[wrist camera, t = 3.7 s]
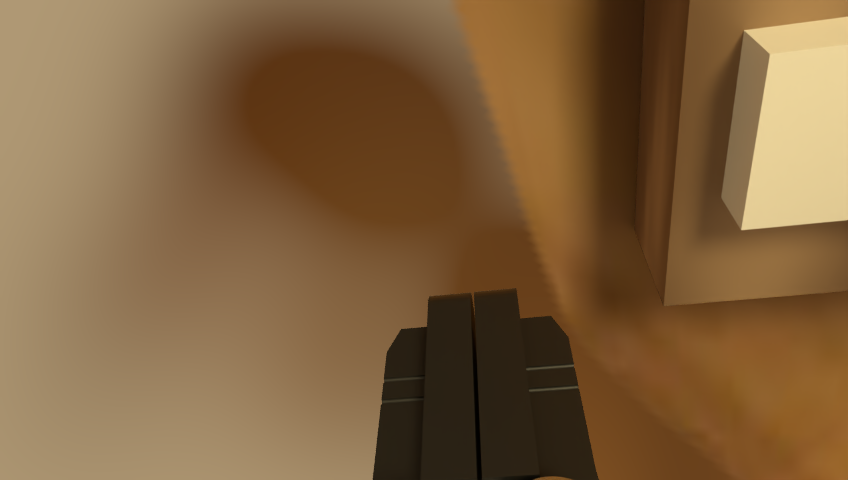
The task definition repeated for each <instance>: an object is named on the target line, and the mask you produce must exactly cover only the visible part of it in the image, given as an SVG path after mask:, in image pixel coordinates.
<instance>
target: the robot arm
mask: <svg viewBox="0 0 848 480" xmlns="http://www.w3.org/2000/svg"><path fill="white" fill-rule="evenodd" d="M474 303H475V315H474V307H473V301H472V295H471V293H463V294H451V295H440V296H430V297H429V300H428V319H427V327H421V328H409V329H401V330H400V332H399V334H398V335H397V337H396V339H395V340H394V342H393V343H392V345H391V347H390V348H389V350H388V351H387V356H386V366H385V374H384V384H383V392H382V405H381V410H380V419H379V428H378V437H377V446H376V456H375V464H374V473H373V480H599V479H598V476H597V472H596V469H595V464H594V459H593V455H592V449H591V444H590V440H589V435H588V430H587V425H586V420H585V416H584V411H583V406H582V401H581V396H580V392H579V389H578V382H577V377H576V372H575V368H574V363H573V358H572V353H571V348H570V344H569V338H568V336H567V335H566V334H565V333H564V331H563V330H562V329H561V328H560V326H559V325H558V324H557V323H556V322H555V320H554V319H553V318H552V317H551V316H545V317H534V318H522V319H520V314H519V306H518V298H517V291H516V288H513V289H503V290H492V291H481V292H474Z"/></svg>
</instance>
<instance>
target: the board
mask: <svg viewBox="0 0 848 480" xmlns="http://www.w3.org/2000/svg"><path fill="white" fill-rule="evenodd" d="M841 17H848V0H645V7H644V29H643V51H642V73H641V95H640V117H639V139H638V161H637V183H636V205H635V227H634V230H635V233H636V235H637V238H638V241H639V243H640V246H641V248H642V251H643V254H644V256H645V259H646V261H647V264H648V267H649V269H650V272H651V274H652V277H653V280H654V282H655V285H656V287H657V290H658V293H659V295H660V298H661V301H662V303H663V306H673V305H685V304H697V303H709V302H721V301H733V300H745V299H757V298H769V297H781V296H793V295H805V294H817V293H829V292H841V291H848V220H843V221H833V222H823V223H812V224H802V225H791V226H781V227H770V228H760V229H749V230H741V229H740V228H739V226H738V224H737V223H736V221H735V219H734V218H733V216H732V215H731V213H730V211H729V210H728V208H727V206H726V205H725V203H724V202H723V200H722V198H721V195H722V188H723V181H724V173H725V166H726V159H727V151H728V144H729V137H730V129H731V122H732V115H733V108H734V100H735V93H736V86H737V78H738V71H739V64H740V56H741V49H742V42H743V34H744V30H750V29H758V28H765V27H773V26H781V25H788V24H796V23H803V22H811V21H818V20H826V19H833V18H841Z"/></svg>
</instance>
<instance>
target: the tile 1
mask: <svg viewBox="0 0 848 480" xmlns="http://www.w3.org/2000/svg"><path fill="white" fill-rule="evenodd" d="M721 198H722V200H723V202H724V203H725V205H726V206H727V208H728V210H729V211H730V213H731V215H732V216H733V218H734V219H735V221H736V223H737V224H738V226H739V228H740V229H741V230H749V229H760V228H770V227H781V226H791V225H802V224H812V223H823V222H833V221H843V220H848V17H841V18H833V19H826V20H818V21H811V22H803V23H796V24H788V25H781V26H773V27H765V28H758V29H750V30H744V34H743V42H742V49H741V56H740V64H739V71H738V78H737V86H736V93H735V100H734V108H733V115H732V122H731V129H730V137H729V144H728V151H727V159H726V166H725V173H724V181H723V188H722V195H721Z"/></svg>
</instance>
